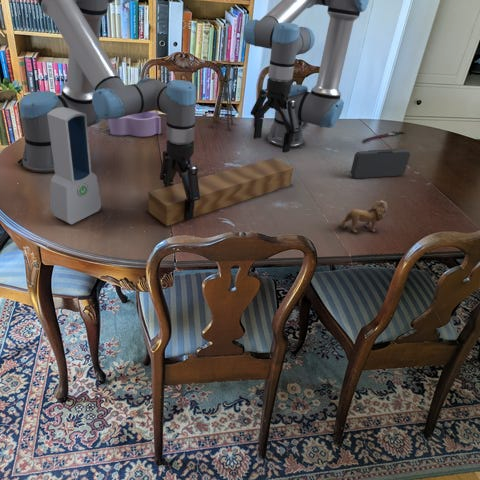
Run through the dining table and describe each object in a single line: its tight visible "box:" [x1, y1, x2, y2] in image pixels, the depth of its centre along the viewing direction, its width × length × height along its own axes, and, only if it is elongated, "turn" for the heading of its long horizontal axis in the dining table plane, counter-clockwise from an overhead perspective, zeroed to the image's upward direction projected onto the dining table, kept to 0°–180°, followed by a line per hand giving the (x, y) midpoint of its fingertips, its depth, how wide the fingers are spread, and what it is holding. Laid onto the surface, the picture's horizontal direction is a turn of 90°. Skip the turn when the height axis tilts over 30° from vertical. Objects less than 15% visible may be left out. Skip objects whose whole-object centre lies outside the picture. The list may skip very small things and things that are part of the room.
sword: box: [363, 130, 404, 143], centre depth 215 cm, size 31×3×1 cm, turn 126°
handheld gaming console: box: [350, 148, 411, 179], centre depth 174 cm, size 23×3×10 cm, turn 108°
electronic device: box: [47, 107, 102, 225], centre depth 126 cm, size 12×8×30 cm, turn 148°
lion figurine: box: [339, 199, 388, 234], centre depth 139 cm, size 15×5×9 cm, turn 110°
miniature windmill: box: [210, 54, 234, 130], centre depth 200 cm, size 9×8×30 cm
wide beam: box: [147, 157, 294, 227], centre depth 149 cm, size 51×10×7 cm, turn 131°
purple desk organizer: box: [108, 110, 162, 138], centre depth 190 cm, size 20×12×7 cm, turn 109°
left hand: (178, 210), depth 140 cm, fingers closed on wide beam, 10 cm apart
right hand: (271, 144), depth 154 cm, fingers open, 13 cm apart
